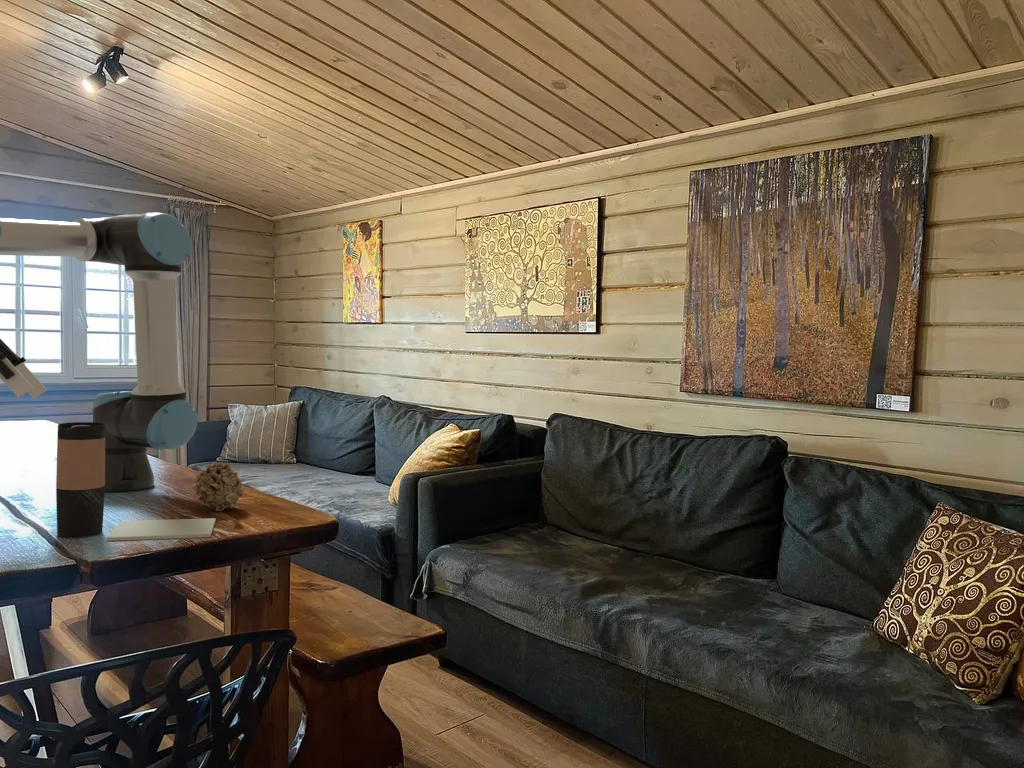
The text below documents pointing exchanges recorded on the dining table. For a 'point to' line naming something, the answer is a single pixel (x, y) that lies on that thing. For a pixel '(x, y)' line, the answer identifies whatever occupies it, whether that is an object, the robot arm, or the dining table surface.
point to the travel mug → (80, 479)
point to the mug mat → (162, 529)
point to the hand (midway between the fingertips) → (33, 393)
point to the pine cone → (218, 486)
